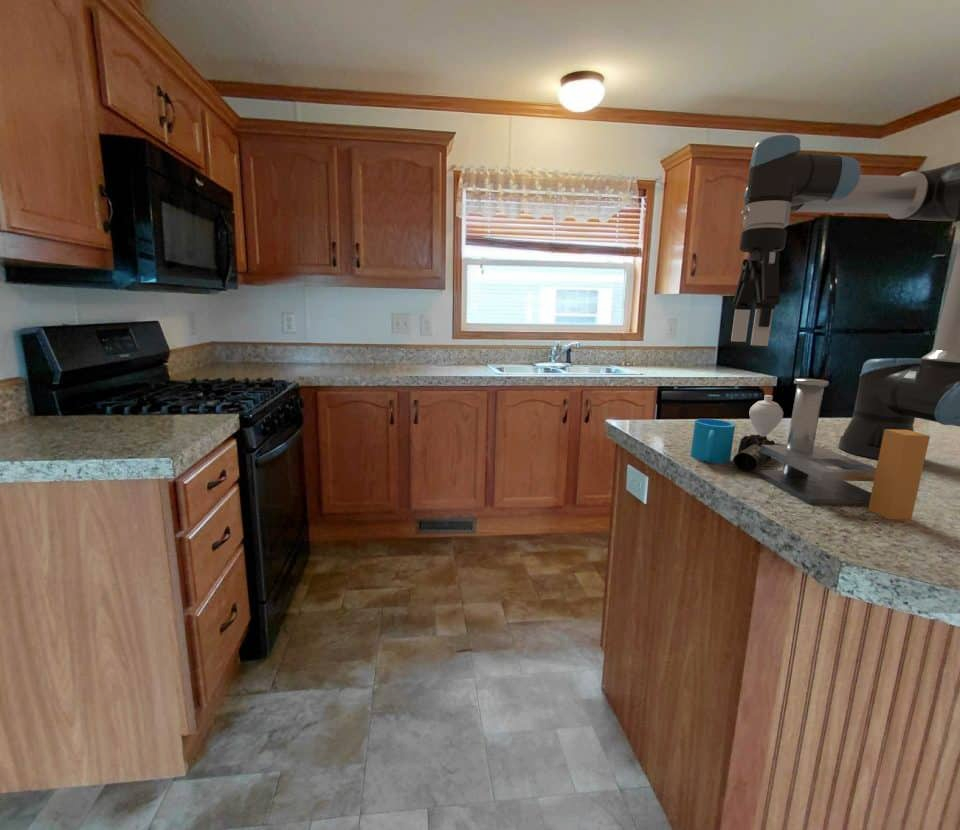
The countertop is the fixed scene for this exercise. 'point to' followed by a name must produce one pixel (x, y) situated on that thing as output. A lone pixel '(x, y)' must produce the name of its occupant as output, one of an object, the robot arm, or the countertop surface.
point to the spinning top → (765, 415)
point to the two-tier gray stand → (814, 457)
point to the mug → (712, 440)
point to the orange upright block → (898, 473)
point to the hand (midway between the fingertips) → (747, 343)
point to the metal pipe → (751, 453)
